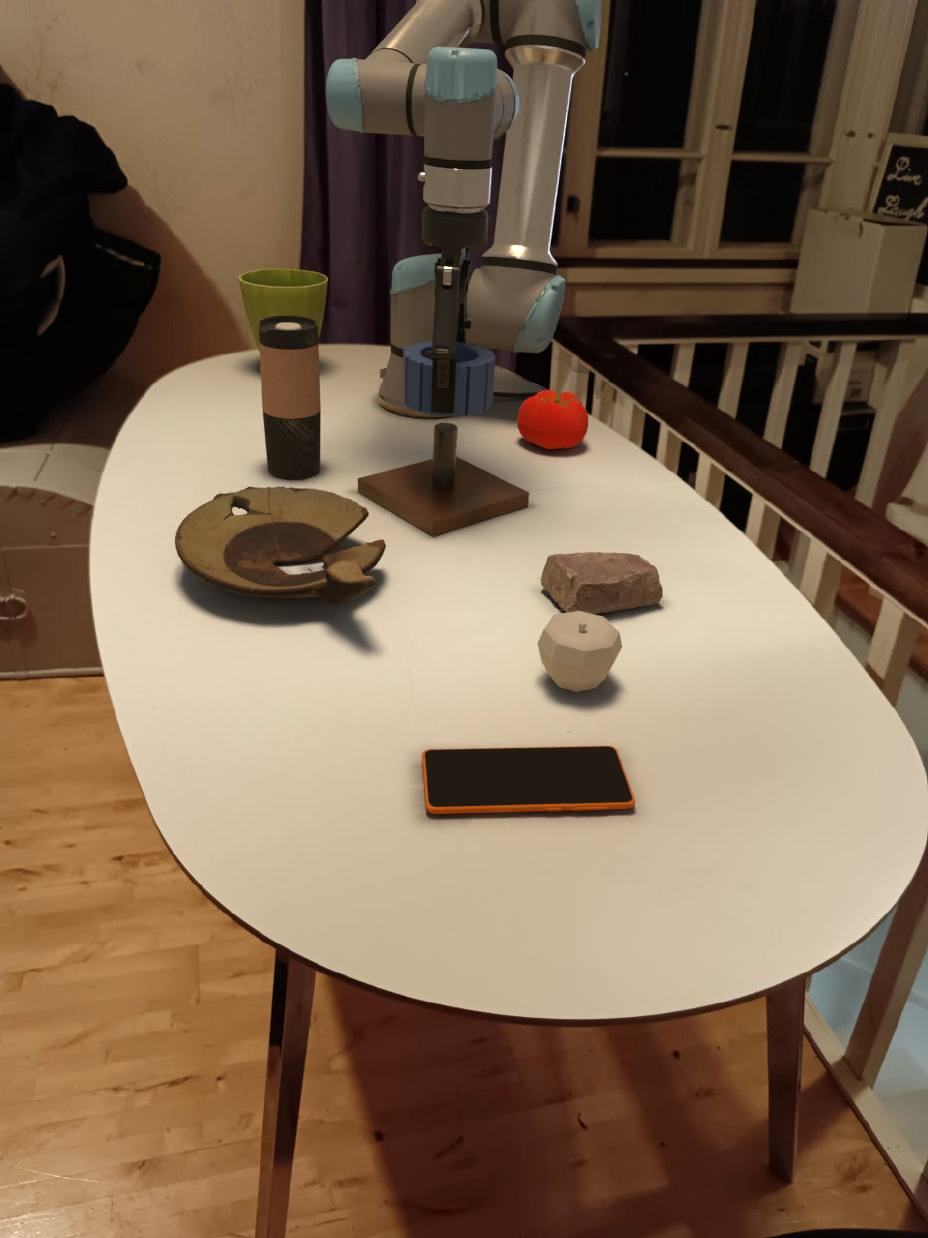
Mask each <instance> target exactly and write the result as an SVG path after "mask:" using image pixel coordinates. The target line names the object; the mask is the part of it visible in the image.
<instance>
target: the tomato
mask: <svg viewBox="0 0 928 1238" xmlns="http://www.w3.org/2000/svg"><path fill="white" fill-rule="evenodd" d="M537 393H538V394H536V395H535V396H534V397H527V398H526V399H525V400H523V402H522V403H521V405H520V407H519V410H518V414H517V419H516V421H517V429H518V431H519V434H520V436H521V437H522V438H523V439H524V440H525V441H526V442H527V443H530V444H532V445H536V446H538V447H542V448H543V449H545V450H547V451H548V450H557V449H563V450H567V449H571V448H573V447H576V446H577V445H579V444H580V443H581V442H582V441H583V440H584V438H585V437H586V435H587V433H588V429H589V414H588V411H587V408H586V407H585V406H584V404H583V402H582V401H581V400H580V399H579V398H578V397H577V396H576V394H575V393H572V392H569V391H566V390H565V391H563V392H562V391H559V392H557V391H555V390H553V389H544V390H542V391H540V392H537Z"/></svg>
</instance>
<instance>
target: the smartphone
mask: <svg viewBox="0 0 928 1238" xmlns="http://www.w3.org/2000/svg"><path fill="white" fill-rule="evenodd" d="M621 759H622V758H621V757H620V753H619V751H618V749H617V747H615V746H613V745H574V746H573V745H572V746H571V745H570V746H527V747H526V746H525V747H521V746H519V747H476V748H473V747H471V748H429V749H425V750H423V751H422V752H421V763H422V776H423V783H424V785H423V787H424V789H423V790H424V801H425V808H426V811H427V812H429V813H431V814H434V815H442V814H443V815H444V814H445V815H446V814H480V813H481V814H482V813H516V812H517V813H520V812H521V813H522V812H562V811H607V810H626V809H627V810H628V809H631V808H633V807H635V805H636V798H635V795H634V793H633V790H632V787H631V785H630V784H631V783H630V781H629V778H628V776H627V773H626V769H625V767H624V765H623V762H622V760H621Z"/></svg>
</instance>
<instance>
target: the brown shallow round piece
mask: <svg viewBox="0 0 928 1238" xmlns="http://www.w3.org/2000/svg"><path fill="white" fill-rule="evenodd" d="M234 508H237V509H238V510H240V509H242V510H244V511H245V512H246V513H244V514H234V513H233V509H234ZM369 515H370V512H369V510H368V509H367V508H366V507H365V506H362V505H360V504H359V503H358V502H356V501H354V500H352V499H351V498H347V497H343V496H342V495H339V494H337V493H335V492H333V491H327V490H322V489H317V488H308V487H307V488H306V487H303V488H301V487H293V486H292V487H291V486H290V487H285V486H274V487H273V486H272V487H271V486H267V487H256V486H247V487H245V488H243V489H239V490H237V491H235V492H232V491H231V492H227V493H222V492H220V493H217V494H216V495H215V496H213V498H212V499H211V500H209V501H207V502H205V503H203V504H201V505H199V506H198V507H196V508H195V509H193V510H192V511H191V512H189V513H187V515H186V516H185V517H184V518H183V519H182V520H181V522H180V524H179V525H178V527H177V529H176V531H175V535H174V546H175V551H176V554H177V556H178V558H179V559H180V561H181V563H182V564H183V566H185V567H186V569H187V570H188V571H189V572H190V573H191V574H192V575H193V576H195V577H197V578H198V579H199V580H201V581H202V582H204V583H206V584H208V585H211V586H213V587H215V588H217V589H221V590H224V591H226V592H227V591H228V592H231V593H234V594H238V595H239V594H240V595H244V596H245V595H246V596H251V597H259V598H282V599H283V598H284V599H285V598H286V599H288V598H291V599H292V598H294V599H296V598H297V599H301V598H318V599H320V600H322V601H324V602H325V603H327V604H329V605H331V606H342V605H345V604H349V602H351V601H352V600H354V599H355V598H357V597H359V596H361V595H363V594H365V593H366V592H368V591H370V590H371V589H372V588H374V587H375V586H376V585H377V581H376V579H375V578H374V577H373V576H371V575H367V573H369V572H370V571H372V570H373V569H374V568H375V567H376V566H377V565H378V564H379V562H380V561H381V559H382V558H383V556H384V554H385V550H386V548H387V544H386V542H385V540H384V539H383V538H382V539H377V540H374V541H371V542H368V541H367V542H366V543H364V544H362V545H358V546H353V547H350V548H348V549H344V550H339V551H336V552H333V553H330V552H331V551H333V550H334V548H335V547H336V546H338V545H340V544H341V543H343V542H344V541H345V540H346V539H347V537H349V536H350V535H351V534H352V533H353V532H354V531H355V530H356V529H358V528H359V527H360V526H361V525H362V524H363V523H364V522H365V521H366V520H367V518H368V517H369ZM320 558H321V561H322V564H323V566H324V568H325V569H321V570H317V571H313V570H312V569H311V568H309V567H307V569H308V570H310V571H311V572H301V573H296V574H295V573H293V574H291V573H287V572H285V571H284V570H283V569H282V568H281V567H278V566H277V565H275V564H276V563H277V564H278V563H280V564H282V563H300V562H308V561H312V560H314V559H320Z"/></svg>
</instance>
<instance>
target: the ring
mask: <svg viewBox="0 0 928 1238" xmlns="http://www.w3.org/2000/svg"><path fill="white" fill-rule="evenodd" d="M439 347H444V348H449V347H448V346H439ZM431 350H432V342H430V341H428V342H422V343H417V344H414V345H410V346H409V347H407V348H406V349H404V351H403V396H402V398H403V401H404V404H405V405H406V406H407V407H409V408H411V409H413V410H415V411H418V412H421V411H422V413H425V414H431V415H437V416H441V415H443V414H444V416H445V417H444V418H446V417H465V416H467V417H471V416H473V415H478V414H482V413H484V412H487V411H488V410H489V408H491V407H492V406H493V401H494V396H493V391H494V389H495V388H494V387H495V372H496V358H497V357H496V354H495V353H494V352H493V351H492V350H491V349H490V348H484V347H481V346H479V345H474V344H470V343H464V342H457V341H456V349H455V353H456V357H455V358H457V359H456V381H455V402H454V414H447V413H435V412H431V393H432V363H433V359H429V358H427V356H426V355H427V351H430V352H431Z"/></svg>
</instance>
